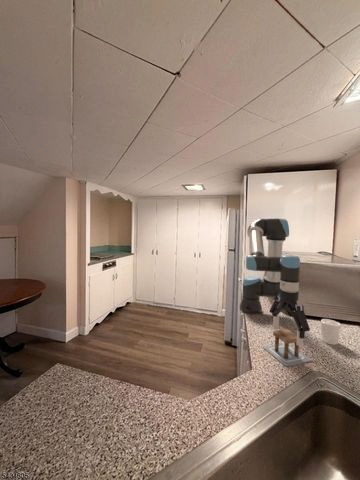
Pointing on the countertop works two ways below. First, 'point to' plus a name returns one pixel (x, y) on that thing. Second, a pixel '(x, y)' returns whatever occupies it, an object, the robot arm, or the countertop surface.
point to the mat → (291, 358)
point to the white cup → (330, 331)
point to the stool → (286, 341)
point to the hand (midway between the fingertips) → (286, 336)
